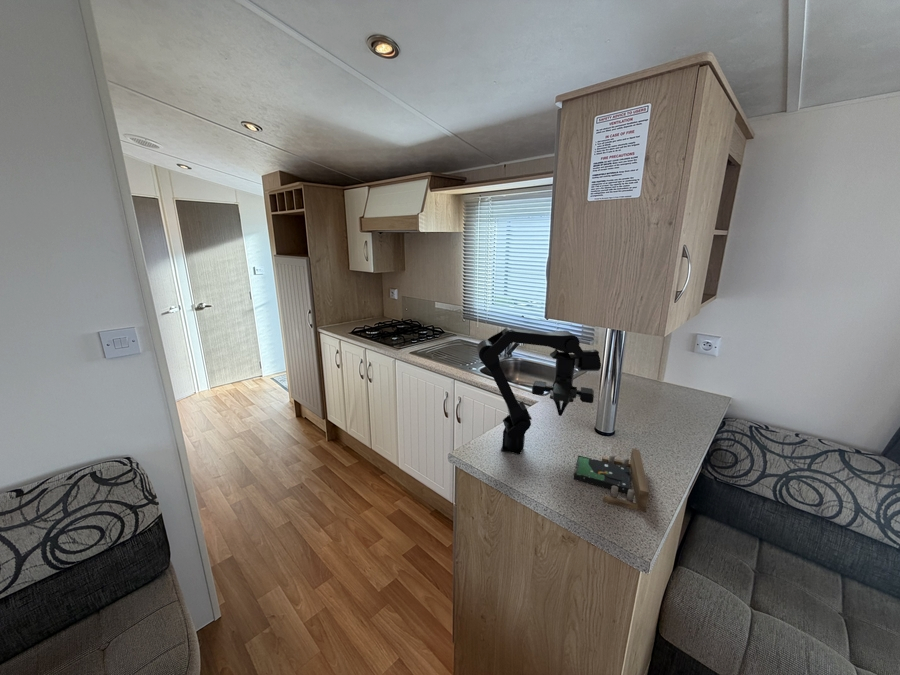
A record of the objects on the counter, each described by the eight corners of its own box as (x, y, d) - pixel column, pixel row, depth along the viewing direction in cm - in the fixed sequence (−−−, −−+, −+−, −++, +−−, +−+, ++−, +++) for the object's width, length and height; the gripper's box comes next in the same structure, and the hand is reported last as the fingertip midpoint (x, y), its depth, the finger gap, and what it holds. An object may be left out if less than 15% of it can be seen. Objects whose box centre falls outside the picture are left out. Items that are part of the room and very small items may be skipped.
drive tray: (603, 501, 94) (606, 482, 92) (601, 459, 112) (604, 443, 110) (645, 512, 90) (649, 492, 89) (636, 466, 109) (639, 449, 107)
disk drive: (628, 475, 105) (576, 462, 112) (630, 467, 105) (577, 454, 111) (629, 497, 96) (572, 481, 102) (630, 488, 96) (573, 473, 102)
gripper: (530, 375, 107) (527, 421, 111) (596, 384, 101) (590, 432, 105) (536, 364, 117) (532, 406, 122) (595, 371, 111) (590, 416, 115)
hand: (560, 415), depth 115 cm, fingers closed
